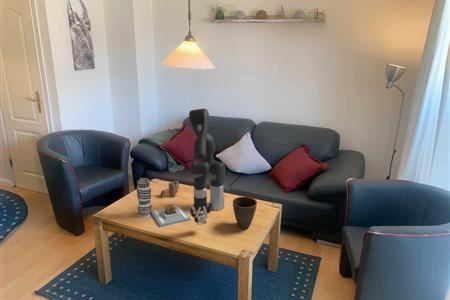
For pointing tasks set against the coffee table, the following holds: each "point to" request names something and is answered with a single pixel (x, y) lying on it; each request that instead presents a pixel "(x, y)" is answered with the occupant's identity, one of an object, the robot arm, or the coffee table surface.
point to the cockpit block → (201, 218)
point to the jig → (170, 216)
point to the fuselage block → (170, 209)
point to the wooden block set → (171, 189)
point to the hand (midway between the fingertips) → (200, 220)
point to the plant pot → (244, 210)
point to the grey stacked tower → (144, 197)
